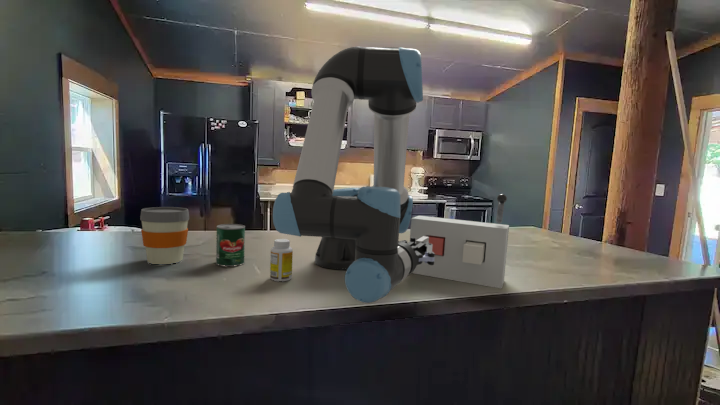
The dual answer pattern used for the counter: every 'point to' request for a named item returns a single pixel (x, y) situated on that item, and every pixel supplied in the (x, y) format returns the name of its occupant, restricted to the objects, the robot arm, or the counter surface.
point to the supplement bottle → (281, 260)
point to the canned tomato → (230, 244)
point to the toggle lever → (500, 207)
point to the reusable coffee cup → (164, 233)
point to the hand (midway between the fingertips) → (425, 241)
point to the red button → (437, 244)
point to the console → (455, 239)
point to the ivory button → (473, 252)
